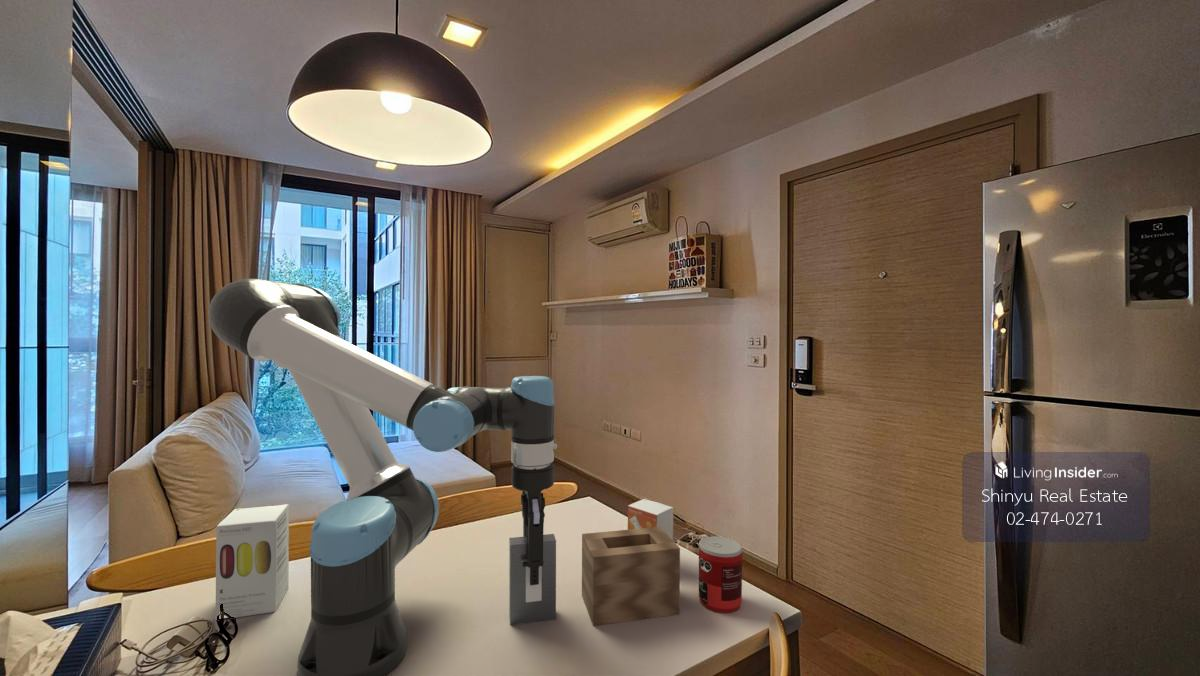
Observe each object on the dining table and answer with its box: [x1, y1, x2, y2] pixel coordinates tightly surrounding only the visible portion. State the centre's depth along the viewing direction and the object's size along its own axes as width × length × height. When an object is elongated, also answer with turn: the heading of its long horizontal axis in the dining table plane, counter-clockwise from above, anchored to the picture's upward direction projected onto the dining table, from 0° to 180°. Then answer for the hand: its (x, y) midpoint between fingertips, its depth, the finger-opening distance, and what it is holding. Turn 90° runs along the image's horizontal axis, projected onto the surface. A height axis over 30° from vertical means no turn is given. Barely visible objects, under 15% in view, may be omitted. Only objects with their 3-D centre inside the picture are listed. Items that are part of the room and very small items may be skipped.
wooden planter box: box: [581, 527, 681, 627], centre depth 92 cm, size 16×10×12 cm, turn 103°
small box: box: [627, 498, 674, 541], centre depth 108 cm, size 8×6×13 cm
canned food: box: [698, 535, 743, 614], centre depth 93 cm, size 8×8×11 cm
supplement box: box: [214, 503, 290, 621], centre depth 92 cm, size 10×9×17 cm
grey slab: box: [508, 533, 557, 626], centre depth 88 cm, size 8×3×14 cm, turn 104°
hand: (532, 594), depth 88 cm, fingers closed on grey slab, 3 cm apart
